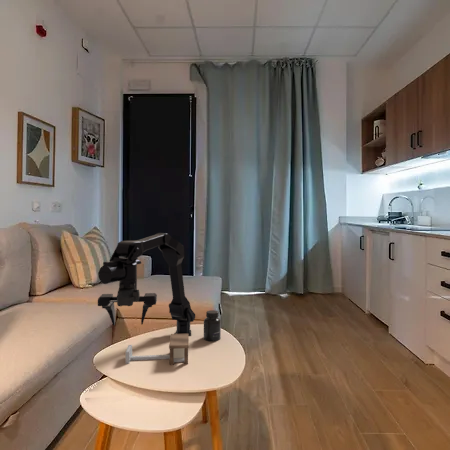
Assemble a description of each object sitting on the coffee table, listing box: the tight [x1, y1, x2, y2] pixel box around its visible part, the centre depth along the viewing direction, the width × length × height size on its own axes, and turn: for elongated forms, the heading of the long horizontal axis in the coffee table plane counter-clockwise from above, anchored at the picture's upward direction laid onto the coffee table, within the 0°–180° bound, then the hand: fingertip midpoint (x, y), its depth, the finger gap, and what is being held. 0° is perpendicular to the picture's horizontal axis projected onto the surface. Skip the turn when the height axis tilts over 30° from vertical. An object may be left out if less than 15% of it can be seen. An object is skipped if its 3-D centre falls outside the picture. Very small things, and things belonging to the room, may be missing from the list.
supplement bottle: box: [203, 309, 222, 343], centre depth 140 cm, size 7×7×12 cm
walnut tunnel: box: [168, 333, 190, 366], centre depth 122 cm, size 11×6×7 cm, turn 6°
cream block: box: [174, 348, 184, 358], centre depth 122 cm, size 4×4×4 cm
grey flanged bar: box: [125, 344, 184, 365], centre depth 121 cm, size 7×20×4 cm, turn 96°
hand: (128, 324), depth 118 cm, fingers open, 9 cm apart
